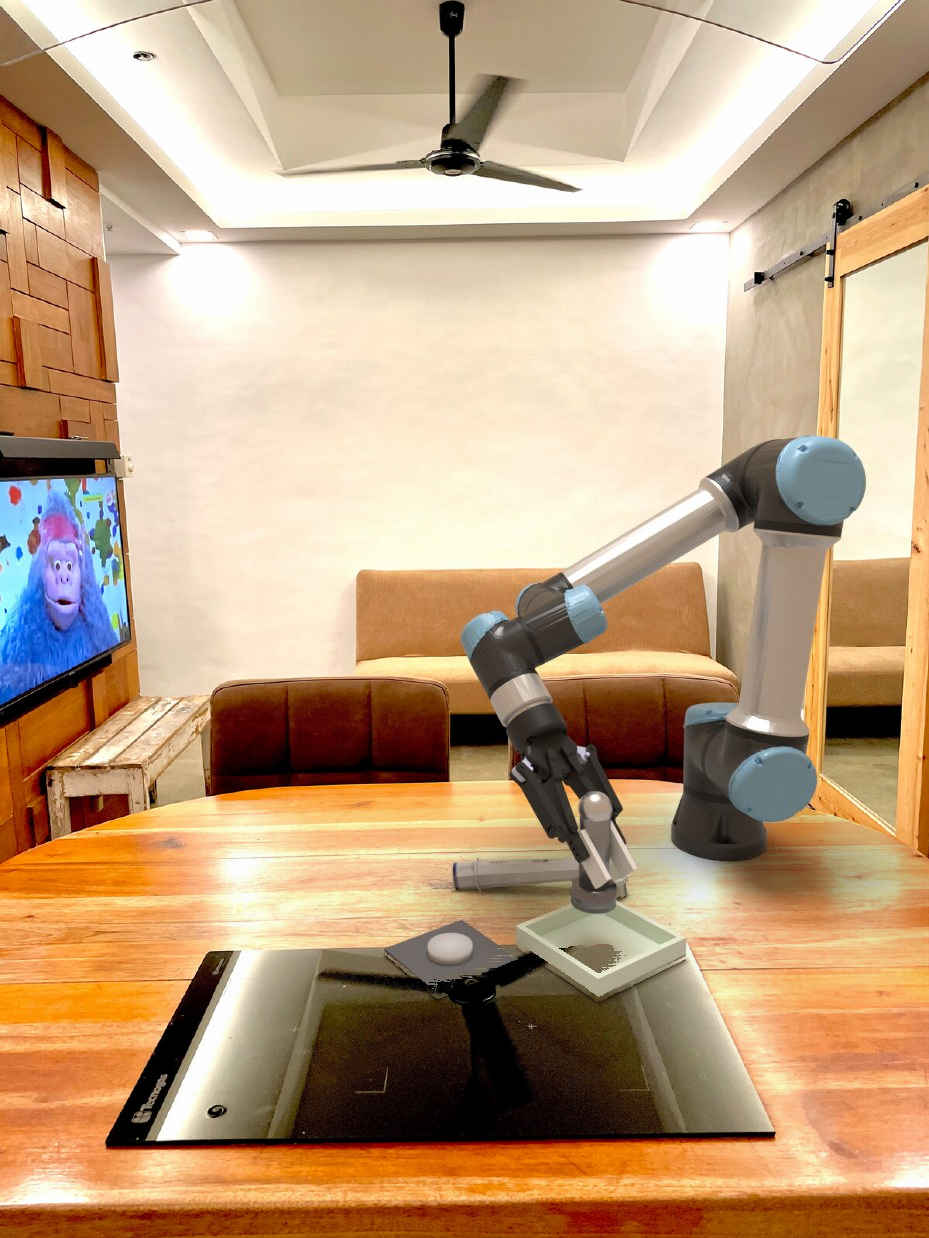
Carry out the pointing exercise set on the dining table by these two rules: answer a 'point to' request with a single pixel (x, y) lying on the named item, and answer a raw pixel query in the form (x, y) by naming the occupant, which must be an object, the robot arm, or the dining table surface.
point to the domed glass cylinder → (598, 826)
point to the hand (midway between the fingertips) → (616, 878)
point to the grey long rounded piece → (522, 873)
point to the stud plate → (448, 953)
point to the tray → (620, 928)
